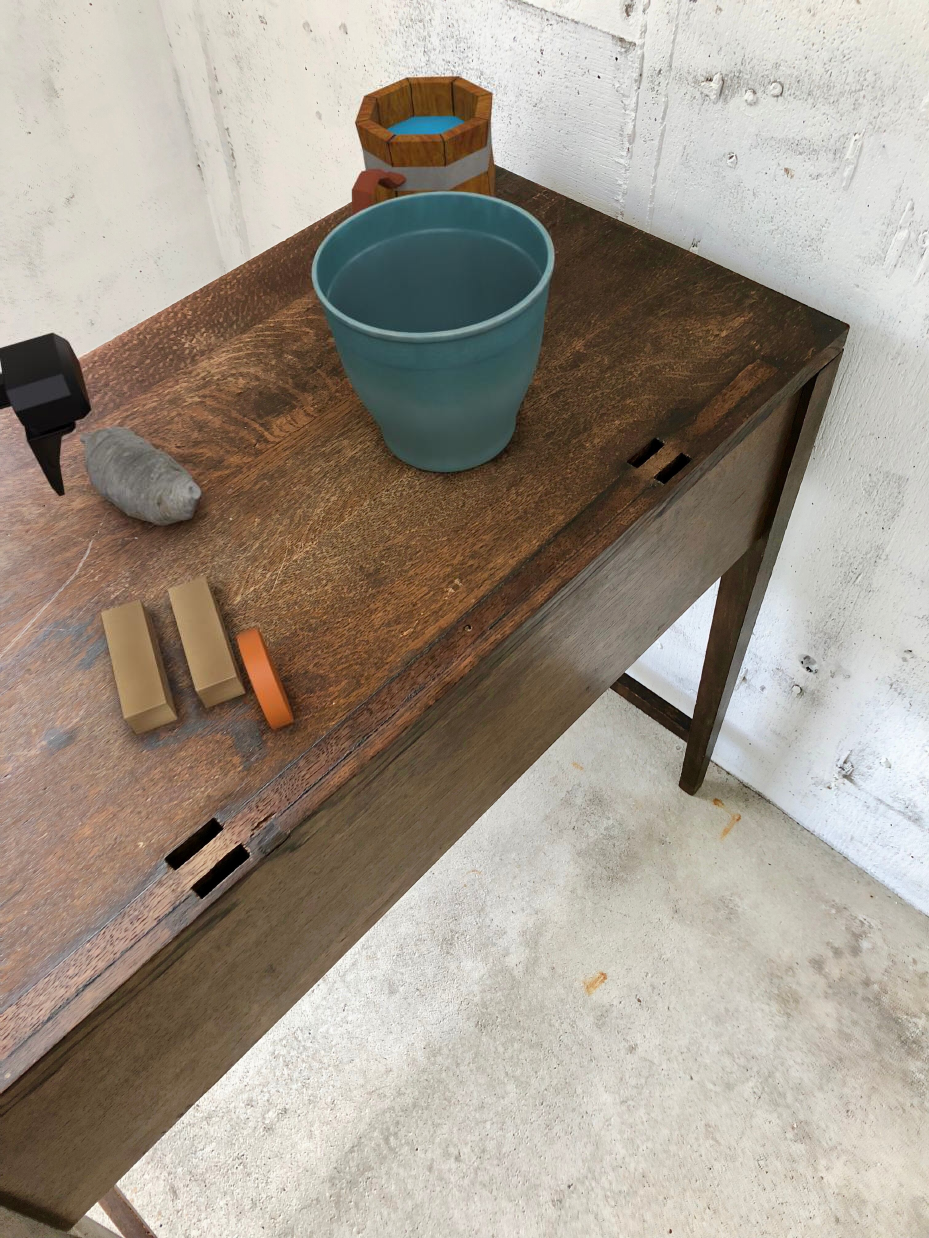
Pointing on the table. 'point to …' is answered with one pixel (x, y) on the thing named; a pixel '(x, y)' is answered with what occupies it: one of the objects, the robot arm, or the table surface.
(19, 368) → the robot arm
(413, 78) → the mug
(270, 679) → the disc
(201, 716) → the table surface
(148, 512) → the grey sweet potato
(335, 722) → the table surface
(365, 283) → the flower pot
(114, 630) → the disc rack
